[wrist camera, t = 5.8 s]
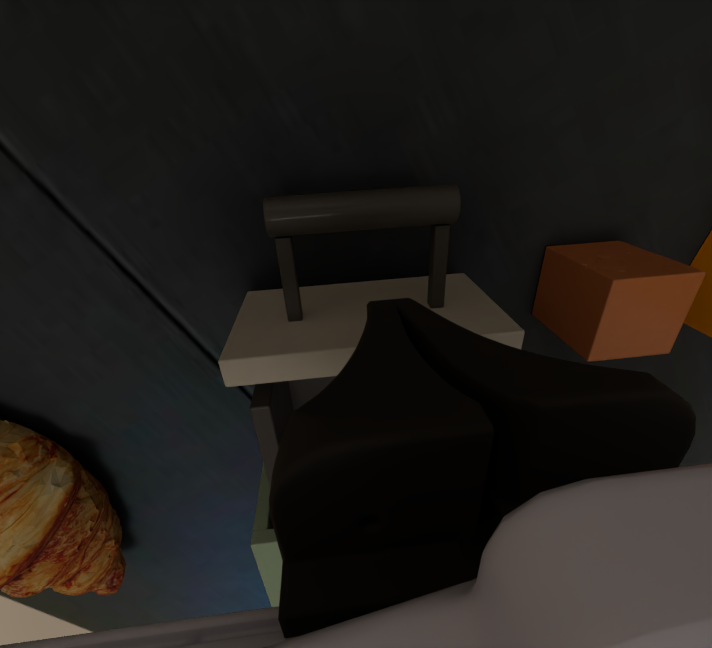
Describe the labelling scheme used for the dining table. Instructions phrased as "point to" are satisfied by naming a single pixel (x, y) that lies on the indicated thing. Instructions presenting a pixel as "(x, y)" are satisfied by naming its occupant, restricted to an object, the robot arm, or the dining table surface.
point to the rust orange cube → (614, 299)
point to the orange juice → (702, 291)
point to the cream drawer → (341, 300)
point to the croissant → (53, 521)
